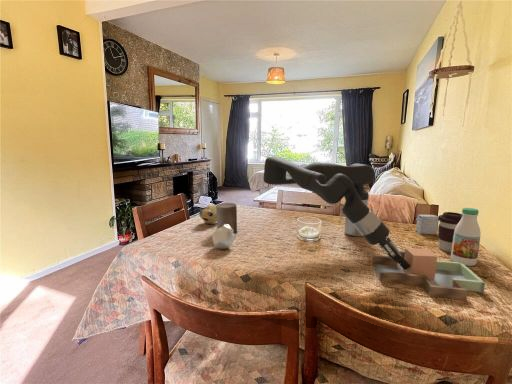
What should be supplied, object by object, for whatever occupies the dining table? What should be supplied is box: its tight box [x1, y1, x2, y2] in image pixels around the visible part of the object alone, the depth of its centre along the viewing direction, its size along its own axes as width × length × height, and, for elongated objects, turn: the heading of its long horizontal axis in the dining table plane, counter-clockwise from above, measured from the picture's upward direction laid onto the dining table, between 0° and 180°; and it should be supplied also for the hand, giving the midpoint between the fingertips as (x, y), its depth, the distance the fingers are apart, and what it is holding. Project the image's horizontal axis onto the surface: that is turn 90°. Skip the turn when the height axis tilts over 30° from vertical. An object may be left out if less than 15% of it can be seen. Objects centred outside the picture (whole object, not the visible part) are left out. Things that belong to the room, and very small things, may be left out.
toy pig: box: [198, 203, 217, 225], centre depth 149 cm, size 10×12×11 cm
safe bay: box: [436, 260, 486, 294], centre depth 89 cm, size 8×14×4 cm, turn 167°
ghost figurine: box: [212, 224, 236, 250], centre depth 115 cm, size 9×10×10 cm
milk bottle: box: [450, 207, 482, 267], centre depth 101 cm, size 8×8×20 cm
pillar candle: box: [215, 202, 238, 235], centre depth 134 cm, size 10×10×15 cm
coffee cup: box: [437, 211, 462, 253], centre depth 113 cm, size 10×10×15 cm
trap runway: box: [371, 250, 484, 301], centre depth 91 cm, size 28×26×4 cm
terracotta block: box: [403, 247, 438, 280], centre depth 90 cm, size 7×6×8 cm
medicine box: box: [415, 214, 440, 235], centre depth 134 cm, size 8×4×9 cm, turn 84°
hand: (407, 267), depth 90 cm, fingers closed
